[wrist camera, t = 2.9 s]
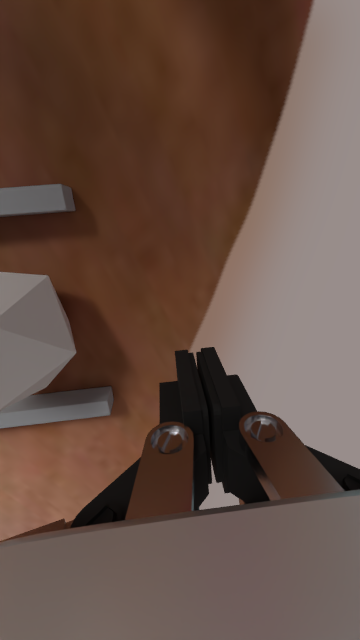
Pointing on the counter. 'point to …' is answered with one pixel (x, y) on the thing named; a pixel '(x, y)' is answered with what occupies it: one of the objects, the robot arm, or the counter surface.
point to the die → (30, 336)
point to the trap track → (58, 403)
